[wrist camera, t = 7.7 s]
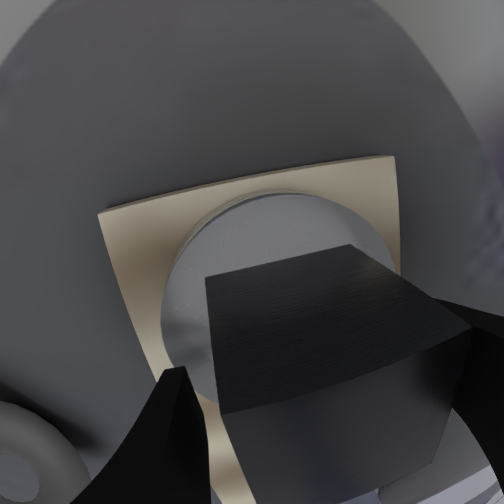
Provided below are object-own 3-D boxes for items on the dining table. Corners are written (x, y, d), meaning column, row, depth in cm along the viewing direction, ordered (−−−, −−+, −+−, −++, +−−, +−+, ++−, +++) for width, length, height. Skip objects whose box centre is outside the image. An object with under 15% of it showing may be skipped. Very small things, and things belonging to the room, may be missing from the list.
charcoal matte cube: (354, 358, 12) (431, 462, 7) (235, 391, 12) (265, 524, 6) (349, 243, 11) (472, 326, 5) (204, 277, 10) (220, 415, 5)
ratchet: (362, 470, 19) (385, 513, 15) (245, 504, 18) (256, 553, 14) (366, 172, 12) (438, 185, 8) (137, 217, 11) (106, 255, 7)
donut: (-29, 392, 13) (-87, 497, 4) (-26, 360, 13) (-101, 474, 3) (97, 464, 16) (82, 588, 7) (112, 441, 16) (96, 583, 6)
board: (373, 455, 20) (379, 466, 19) (225, 498, 19) (227, 510, 18) (379, 155, 13) (394, 156, 12) (105, 208, 12) (97, 214, 11)
